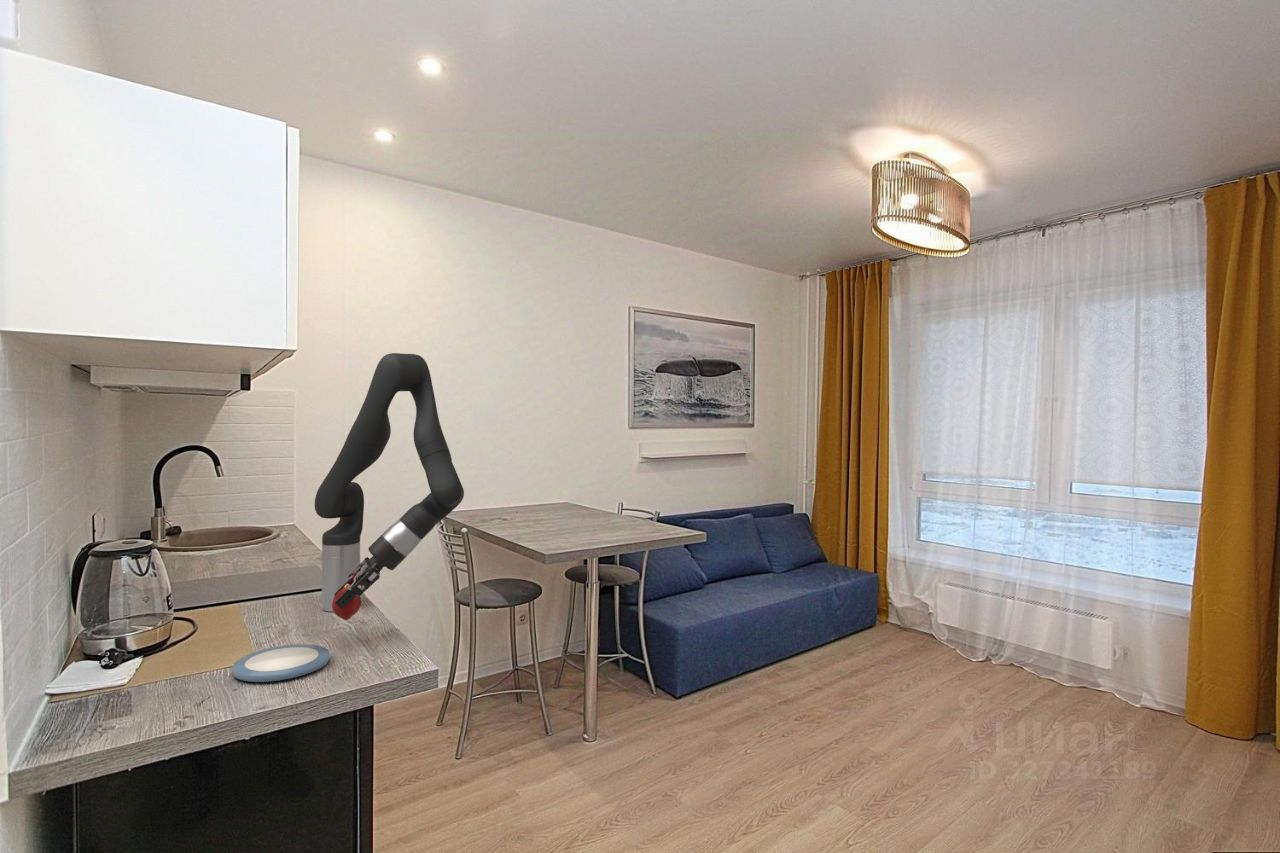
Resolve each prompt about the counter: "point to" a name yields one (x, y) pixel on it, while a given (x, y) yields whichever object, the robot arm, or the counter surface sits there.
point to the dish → (280, 662)
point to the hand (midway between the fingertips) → (337, 601)
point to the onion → (349, 608)
